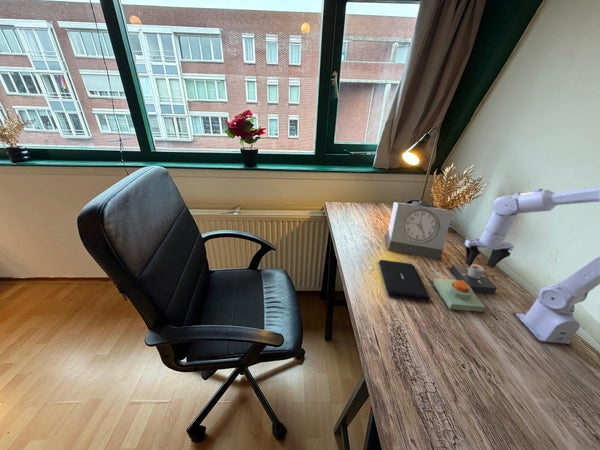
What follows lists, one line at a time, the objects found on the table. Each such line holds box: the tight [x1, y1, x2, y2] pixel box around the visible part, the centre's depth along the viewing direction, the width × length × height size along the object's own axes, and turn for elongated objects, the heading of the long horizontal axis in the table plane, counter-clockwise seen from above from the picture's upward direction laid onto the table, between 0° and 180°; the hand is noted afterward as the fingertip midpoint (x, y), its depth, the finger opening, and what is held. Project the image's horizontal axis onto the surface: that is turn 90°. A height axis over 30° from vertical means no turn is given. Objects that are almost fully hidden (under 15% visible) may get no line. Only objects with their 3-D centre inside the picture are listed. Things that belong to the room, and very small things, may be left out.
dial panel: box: [450, 264, 498, 294], centre depth 88 cm, size 12×9×3 cm
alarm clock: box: [385, 200, 454, 260], centre depth 104 cm, size 20×16×20 cm
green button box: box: [432, 277, 486, 313], centre depth 80 cm, size 12×10×4 cm
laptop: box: [378, 259, 431, 302], centre depth 86 cm, size 16×20×2 cm
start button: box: [453, 279, 469, 292], centre depth 79 cm, size 4×4×2 cm
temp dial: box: [467, 263, 485, 279], centre depth 87 cm, size 4×4×4 cm
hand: (479, 265), depth 85 cm, fingers open, 7 cm apart
